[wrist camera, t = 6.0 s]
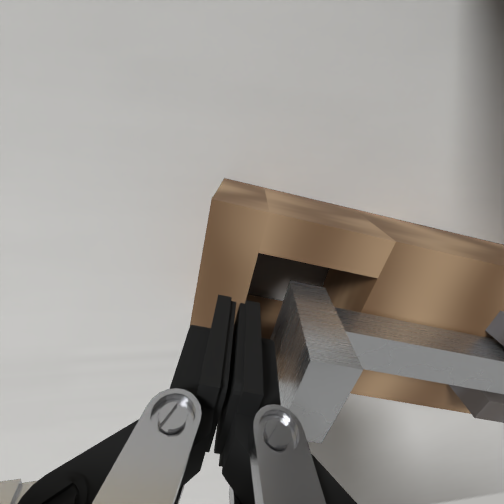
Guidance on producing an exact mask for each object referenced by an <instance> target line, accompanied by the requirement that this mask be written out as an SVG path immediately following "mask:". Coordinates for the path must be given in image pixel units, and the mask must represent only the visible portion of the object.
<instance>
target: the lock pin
mask: <svg viewBox="0 0 504 504" xmlns="http://www.w3.org/2000/svg"><path fill="white" fill-rule="evenodd" d="M270 339H271V340H273V341H274V344H275V352H276V362H277V372H278V382H279V392H280V401H281V406H283V407H285V408H287V409H289V410H290V411H291V412H292V413H294V414H295V415H296V417H297V418H298V419H299V421H300V422H301V425H302V427H303V429H304V432H305V435H306V439H307V441H310V442H316V443H322V442H323V440H324V438H325V436H326V435H327V433H328V431H329V429H330V428H331V426H332V424H333V422H334V421H335V419H336V417H337V415H338V414H339V412H340V410H341V408H342V406H343V405H344V403H345V401H346V399H347V398H348V396H349V394H350V392H351V391H352V389H353V387H354V385H355V384H356V382H357V380H358V378H359V377H360V375H361V373H362V371H363V369H365V370H371V371H376V372H382V373H387V374H393V375H398V376H404V377H410V378H415V379H421V380H426V381H432V382H438V383H443V384H449V385H454V386H460V387H465V388H471V389H477V390H482V391H488V392H493V393H499V394H504V346H503V345H502V344H501V343H499V342H498V341H497V340H496V339H491V338H486V337H481V336H476V335H471V334H466V333H461V332H456V331H451V330H446V329H441V328H436V327H431V326H426V325H421V324H416V323H411V322H406V321H401V320H396V319H391V318H386V317H381V316H376V315H371V314H366V313H361V312H356V311H351V310H346V309H341V308H336V307H334V306H333V303H332V301H331V299H330V297H329V295H328V293H327V290H326V288H325V287H320V286H315V285H310V284H305V283H300V282H296V281H291V280H290V283H289V286H288V289H287V292H286V295H285V298H284V300H283V303H282V306H281V309H280V312H279V315H278V318H277V321H276V324H275V327H274V330H273V333H272V336H271V338H270Z"/></svg>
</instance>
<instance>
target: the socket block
mask: <svg viewBox="0 0 504 504" xmlns="http://www.w3.org/2000/svg"><path fill="white" fill-rule="evenodd" d="M258 253H262V254H266V255H271V256H276V257H280V258H285V259H290V260H294V261H299V262H304V263H308V264H313V265H318V266H322V267H327V268H330V269H329V271H328V274H327V276H326V279H325V281H324V284H323V286H322V287H325V288H326V290H327V293H328V295H329V297H330V299H331V301H332V303H333V306H334V307H336V308H341V309H346V310H351V311H356V312H361V313H366V314H371V315H376V316H381V317H386V318H391V319H396V320H401V321H406V322H411V323H416V324H421V325H426V326H431V327H436V328H441V329H446V330H451V331H456V332H461V333H466V334H471V335H476V336H481V337H486V338H491V339H496V340H497V341H498V342H499V343H501V344H502V345H503V346H504V245H502V244H498V243H494V242H489V241H485V240H481V239H477V238H473V237H468V236H464V235H460V234H456V233H452V232H448V231H443V230H439V229H435V228H431V227H427V226H422V225H418V224H414V223H410V222H406V221H401V220H397V219H393V218H389V217H385V216H380V215H376V214H372V213H368V212H364V211H360V210H355V209H351V208H347V207H343V206H339V205H334V204H330V203H326V202H322V201H318V200H313V199H309V198H305V197H301V196H297V195H292V194H288V193H284V192H280V191H276V190H272V189H267V188H263V187H259V186H255V185H251V184H246V183H242V182H238V181H234V180H230V179H225V178H224V180H223V182H222V183H221V185H220V186H219V188H218V190H217V191H216V193H215V195H214V196H213V198H212V200H211V206H210V212H209V218H208V224H207V229H206V235H205V241H204V247H203V253H202V259H201V264H200V270H199V276H198V282H197V288H196V294H195V299H194V305H193V311H192V317H191V323H190V325H197V326H202V327H207V328H211V325H212V320H213V316H214V311H215V307H216V302H217V298H218V294H219V295H224V296H228V297H232V299H231V301H235V302H236V310H235V320H236V316H237V312H238V308H239V305H240V303H244V304H245V302H246V300H248V301H253V302H258V303H260V316H261V338H265V339H270V338H271V336H272V333H273V330H274V327H275V324H276V321H277V318H278V315H279V312H280V309H281V306H282V303H283V301H279V300H274V299H269V298H264V297H259V296H254V295H249V294H248V290H249V286H250V283H251V279H252V275H253V272H254V268H255V264H256V260H257V257H258ZM235 320H234V323H235ZM350 393H352V394H358V395H364V396H369V397H375V398H381V399H387V400H393V401H399V402H405V403H411V404H417V405H423V406H429V407H434V408H440V409H446V410H452V411H458V412H464V413H470V414H472V415H473V417H474V418H479V419H485V420H491V421H497V422H503V423H504V394H499V393H493V392H488V391H482V390H477V389H471V388H465V387H460V386H454V385H449V384H443V383H438V382H432V381H426V380H421V379H415V378H410V377H404V376H398V375H393V374H387V373H382V372H376V371H371V370H365V369H363V371H362V373H361V375H360V377H359V378H358V380H357V382H356V384H355V385H354V387H353V389H352V391H351V392H350Z"/></svg>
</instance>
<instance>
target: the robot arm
mask: <svg viewBox="0 0 504 504" xmlns="http://www.w3.org/2000/svg"><path fill="white" fill-rule="evenodd" d="M231 299H232V297H228V296H224V295H219V294H218V298H217V302H216V307H215V311H214V316H213V320H212V325H211V328H207V327H202V326H197V325H190V328H189V331H188V334H187V337H186V340H185V343H184V346H183V350H182V353H181V356H180V359H179V362H178V365H177V368H176V371H175V374H174V377H173V380H172V383H171V386H170V389H167V390H165V391H162V392H160V393H159V394H157V395H156V396H155V397H153V398H152V400H151V401H150V402H149V404H148V405H147V406H146V408H145V410H144V412H143V414H142V415H141V417H140V419H139V420H137V421H135V422H134V423H132V424H130V425H128V426H127V427H125V428H123V429H122V430H120V431H118V432H117V433H115V434H113V435H112V436H110V437H108V438H107V439H105V440H103V441H102V442H100V443H98V444H97V445H95V446H93V447H92V448H90V449H88V450H87V451H85V452H83V453H82V454H80V455H78V456H77V457H75V458H73V459H72V460H70V461H68V462H67V463H65V464H63V465H62V466H60V467H58V468H57V469H55V470H53V471H52V472H50V473H48V474H47V475H45V476H44V477H43V478H41V479H40V480H38V481H33V482H25V483H22V482H21V479H16V480H9V481H1V482H0V504H179V501H180V498H181V495H182V492H183V489H184V485H185V484H186V483H187V482H188V481H189V480H190V479H191V478H192V477H194V476H195V475H196V474H197V473H198V472H199V471H200V469H201V466H202V462H203V459H204V455H205V452H209V451H210V447H211V444H212V441H213V437H214V434H215V430H216V427H217V432H216V440H215V448H214V453H218V454H220V459H219V466H222V467H223V468H222V474H223V476H224V477H225V479H226V480H227V482H228V483H229V485H230V487H229V502H230V504H357V503H356V502H355V501H354V500H353V499H352V498H351V496H350V495H349V494H348V493H347V492H346V491H345V490H344V489H343V488H342V487H341V486H340V484H339V483H338V482H337V481H336V480H335V479H334V478H333V477H332V476H331V475H330V474H329V472H328V471H327V470H326V469H325V468H324V467H323V466H322V465H321V464H320V463H319V462H318V460H317V459H316V458H315V457H314V456H313V455H312V454H311V452H310V449H309V445H308V442H307V439H306V435H305V432H304V429H303V427H302V425H301V422H300V421H299V419H298V418H297V417H296V415H295V414H294V413H292V412H291V411H290V410H289V409H287V408H285V407H283V406H281V401H280V392H279V382H278V372H277V362H276V352H275V344H274V341H273V340H271V339H265V338H261V316H260V303H258V302H253V301H248V300H246V302H245V304H244V303H240V305H239V308H238V312H237V316H236V320H235V310H236V302H235V301H231ZM234 320H235V323H234Z"/></svg>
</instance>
